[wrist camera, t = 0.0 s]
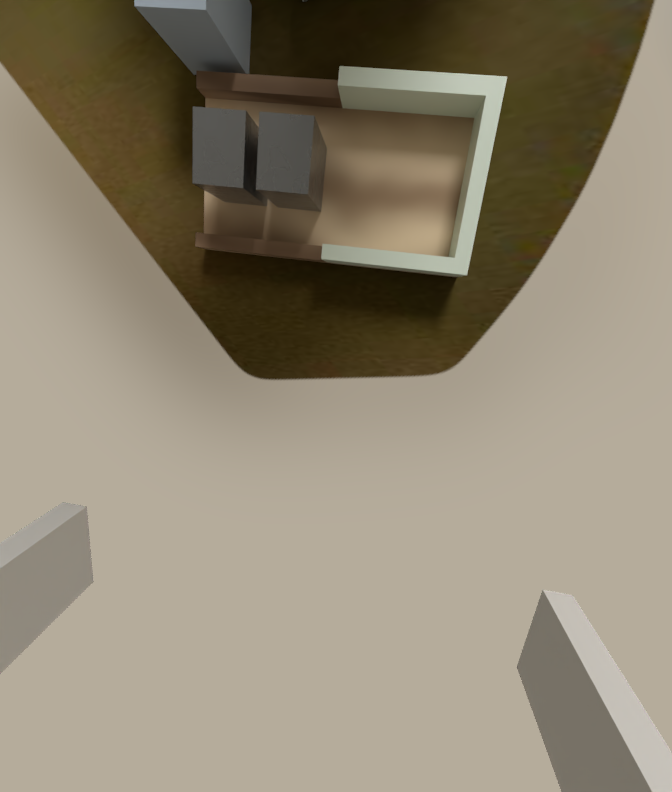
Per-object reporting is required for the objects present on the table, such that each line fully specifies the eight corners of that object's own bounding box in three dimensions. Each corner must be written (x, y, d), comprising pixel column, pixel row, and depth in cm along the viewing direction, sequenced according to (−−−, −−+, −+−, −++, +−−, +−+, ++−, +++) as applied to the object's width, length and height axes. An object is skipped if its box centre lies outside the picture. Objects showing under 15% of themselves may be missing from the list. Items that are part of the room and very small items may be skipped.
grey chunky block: (281, 144, 32) (259, 111, 26) (327, 148, 32) (314, 115, 26) (277, 207, 33) (255, 189, 28) (321, 211, 33) (307, 194, 27)
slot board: (209, 86, 32) (196, 70, 30) (490, 106, 30) (499, 91, 28) (207, 249, 36) (195, 246, 34) (456, 277, 34) (462, 276, 31)
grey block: (194, 3, 31) (131, -94, 23) (251, 6, 30) (207, -92, 23) (193, 74, 32) (134, 6, 24) (249, 78, 32) (206, 9, 24)
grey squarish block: (226, 139, 32) (192, 106, 27) (270, 143, 32) (246, 110, 26) (224, 202, 34) (192, 183, 28) (267, 206, 33) (243, 188, 28)
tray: (344, 91, 30) (339, 65, 27) (493, 101, 29) (507, 76, 26) (327, 262, 34) (320, 258, 31) (458, 277, 33) (466, 275, 30)
